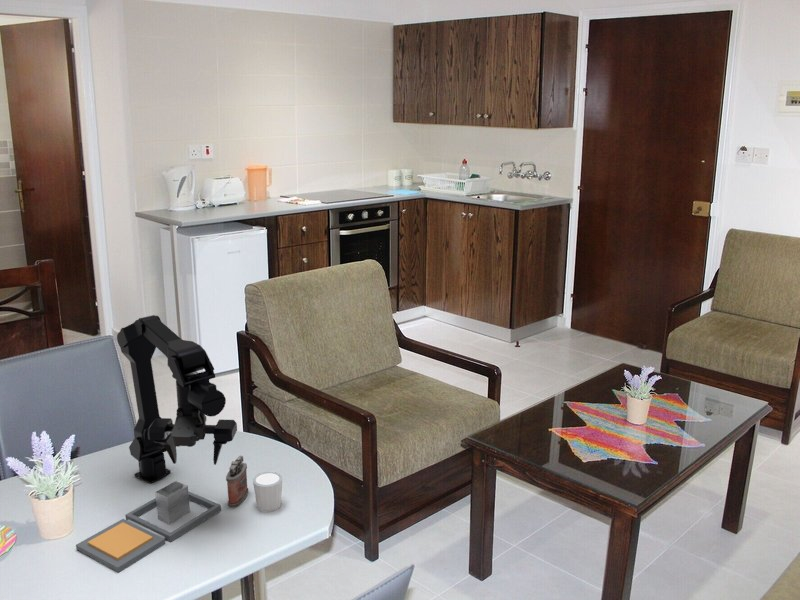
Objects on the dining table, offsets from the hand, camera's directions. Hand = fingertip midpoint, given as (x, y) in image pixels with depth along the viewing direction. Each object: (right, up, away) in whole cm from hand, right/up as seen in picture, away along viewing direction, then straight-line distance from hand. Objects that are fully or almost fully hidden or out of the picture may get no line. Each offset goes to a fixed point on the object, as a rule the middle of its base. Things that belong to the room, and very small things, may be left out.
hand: (195, 463), depth 174 cm
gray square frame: (-5, -12, +2) cm, 14 cm away
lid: (-13, -16, -9) cm, 23 cm away
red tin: (+8, -11, +9) cm, 16 cm away
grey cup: (+16, -11, +7) cm, 21 cm away
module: (-5, -13, +2) cm, 14 cm away
